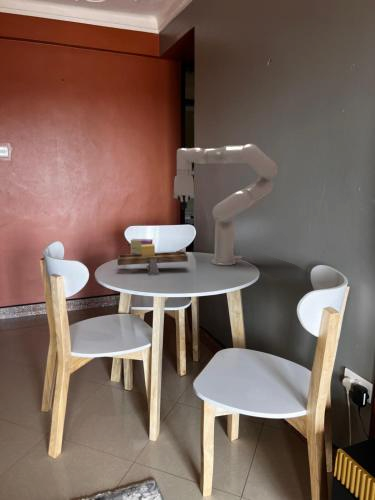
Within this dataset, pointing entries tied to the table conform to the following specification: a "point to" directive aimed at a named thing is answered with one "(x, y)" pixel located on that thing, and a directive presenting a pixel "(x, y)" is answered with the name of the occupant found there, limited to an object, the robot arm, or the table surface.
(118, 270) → the table surface
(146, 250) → the block
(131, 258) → the beam
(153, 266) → the stand
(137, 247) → the box
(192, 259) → the table surface
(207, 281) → the table surface
